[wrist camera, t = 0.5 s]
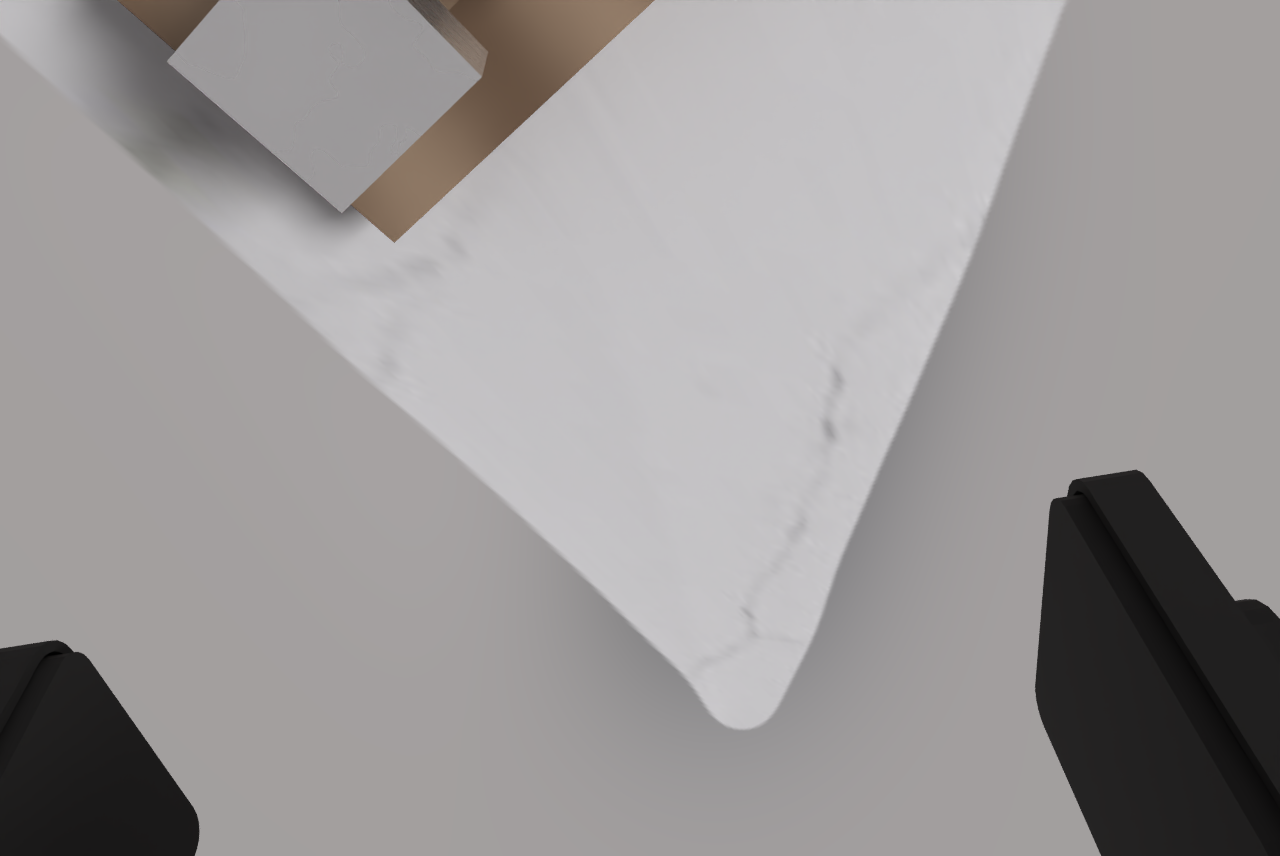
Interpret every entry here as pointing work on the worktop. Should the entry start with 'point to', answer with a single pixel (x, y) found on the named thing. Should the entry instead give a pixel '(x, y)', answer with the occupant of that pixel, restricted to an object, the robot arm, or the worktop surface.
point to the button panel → (487, 113)
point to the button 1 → (332, 80)
